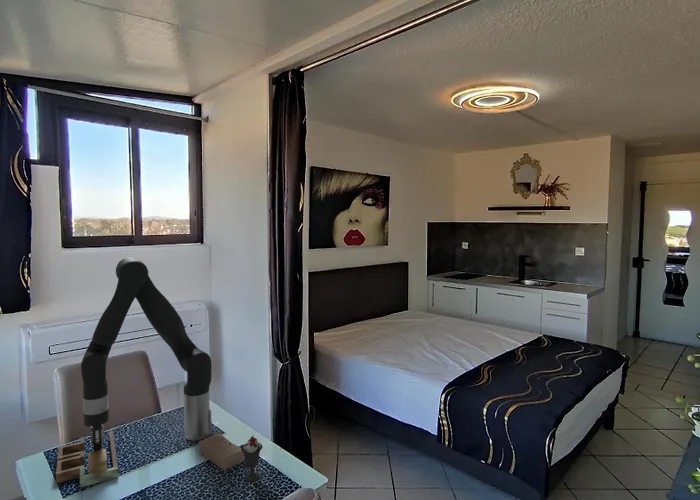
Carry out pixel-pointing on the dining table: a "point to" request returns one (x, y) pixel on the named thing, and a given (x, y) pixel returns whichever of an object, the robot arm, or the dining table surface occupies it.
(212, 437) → the brick
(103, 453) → the block
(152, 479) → the dining table surface
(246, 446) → the sundae
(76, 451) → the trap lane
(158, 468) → the dining table surface
